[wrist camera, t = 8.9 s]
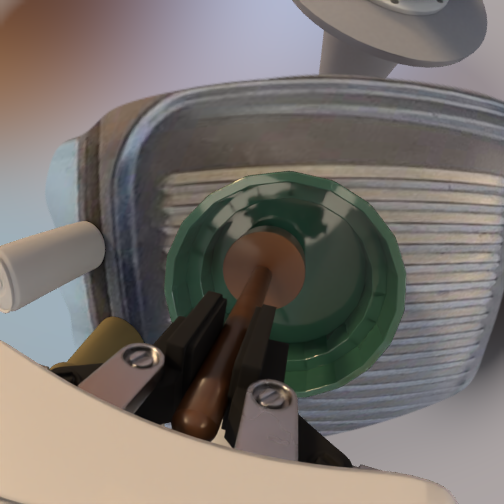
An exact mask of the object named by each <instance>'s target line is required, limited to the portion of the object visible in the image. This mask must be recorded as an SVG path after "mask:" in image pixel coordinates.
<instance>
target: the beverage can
mask: <svg viewBox="0 0 504 504" xmlns="http://www.w3.org/2000/svg"><path fill="white" fill-rule="evenodd" d="M104 255H105V243H104V239H103V236H102V234H101V233H100V231H99V230H98V229H97V227H96V226H94V225H93V224H92V223H90V222H87V221H81V222H77V223H74V224H70V225H66V226H63V227H59V228H56V229H52V230H49V231H46V232H42V233H39V234H36V235H32V236H29V237H26V238H23V239H20V240H16V241H13V242H10V243H7V244H4V245H1V246H0V311H1V312H3V313H9V312H10V311H16V310H18V309H20V308H21V307H24V306H25V305H27V304H29V303H31V302H33V301H34V300H36V299H38V298H40V297H42V296H44V295H45V294H47V293H49V292H51V291H53V290H55V289H57V288H59V287H61V286H62V285H64V284H66V283H68V282H70V281H72V280H74V279H76V278H78V277H80V276H82V275H83V274H85V273H87V272H89V271H91V270H93V269H95V268H97V267H98V266H100V264H101V263H102V261H103V258H104Z"/></svg>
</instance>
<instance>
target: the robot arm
mask: <svg viewBox="0 0 504 504" xmlns="http://www.w3.org/2000/svg"><path fill="white" fill-rule="evenodd" d="M369 1H370V2H372V3H374V4H377V5H379V6H381V7H383V8H386V9H389V10H392V11H395V12H399V13H403V14H407V15H416V16H424V15H431V14H435V13H437V12H439V11H440V10H442V9H443V8H444V7H445V5H446V4H447V3H448V1H449V0H369ZM226 305H227V299H225V298H223V294H220V293H216V292H212V291H208V292H207V293H206V294H205V295H204V297H203V298H202V299H201V300H200V301H199V303H198V304H197V305H196V306H195V307H194V309H193V310H192V311H191V312H190V313H189V315H188V316H187V317H183V316H179V317H177V319H176V320H175V321H174V322H173V323H172V324H171V325H170V326H169V328H168V329H167V330H166V331H165V332H164V333H163V334H162V335H161V337H160V338H159V339H158V340H157V341H156V342H155V343H154V344H153V345H150V344H147V343H132V344H129V345H126V346H124V347H123V348H121V349H120V350H119V351H118V352H117V353H115V354H114V355H113V356H112V357H111V358H110V359H108V360H107V361H106V362H105V363H97V364H87V365H76V366H64V367H57V368H54V369H52V370H50V369H49V367H47V366H43V365H40V364H38V363H36V362H35V361H33V360H32V359H30V358H29V357H27V356H25V355H24V354H22V353H21V352H19V351H18V350H16V349H14V348H13V347H11V346H10V345H8V344H7V343H5V342H3V341H1V340H0V504H458V503H457V501H456V499H455V497H454V496H453V495H452V494H451V492H450V491H449V490H447V489H446V488H445V487H444V486H441V485H440V484H438V483H435V482H433V481H430V480H427V479H423V478H420V477H416V476H413V475H407V474H401V473H397V472H389V471H382V470H378V469H374V468H371V467H368V466H365V465H360V466H359V467H355V466H352V464H351V462H350V460H349V459H348V458H347V457H346V456H345V455H344V454H343V453H342V452H341V451H339V450H338V449H337V448H336V447H335V446H333V445H332V444H331V443H330V442H329V441H328V440H327V439H325V438H324V437H323V436H322V435H321V434H320V433H319V432H317V431H316V430H315V429H314V428H313V427H312V426H311V425H310V424H308V423H307V422H306V421H305V420H304V419H303V418H302V417H301V416H300V415H299V414H298V399H297V395H296V393H295V392H294V390H293V389H292V388H291V387H290V386H288V385H287V384H285V383H284V380H285V373H286V365H287V357H288V349H289V344H288V343H284V342H279V341H275V340H271V339H269V337H270V333H271V329H272V325H273V320H274V316H275V312H276V308H277V307H274V306H270V305H265V304H263V305H262V307H258V306H256V309H255V311H254V314H253V316H252V319H251V321H250V324H249V326H248V329H247V332H246V334H245V337H244V339H243V342H242V344H241V347H240V349H239V352H238V354H237V357H236V360H235V363H234V367H233V371H232V376H231V381H230V386H229V391H228V396H227V397H228V406H227V409H226V411H225V414H224V417H223V421H222V426H221V429H223V430H225V435H224V438H225V439H226V441H227V442H228V443H229V444H230V446H231V447H232V448H230V447H227V446H223V445H219V444H216V443H212V442H209V441H206V440H202V439H199V438H196V437H193V436H190V435H187V434H184V433H181V432H178V431H175V430H172V429H170V428H167V427H164V424H165V423H169V422H172V417H173V415H174V413H175V411H176V409H177V407H178V406H179V404H180V402H181V400H182V399H183V397H184V395H185V393H186V392H187V390H188V388H189V386H190V385H191V383H192V381H193V379H194V377H195V376H196V374H197V372H198V370H199V369H200V367H201V365H202V363H203V361H204V360H205V358H206V356H207V354H208V352H209V351H210V349H211V347H212V345H213V343H214V342H215V340H216V338H217V336H218V334H219V333H220V331H221V329H222V327H223V323H224V317H225V311H226Z"/></svg>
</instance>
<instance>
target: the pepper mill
mask: <svg viewBox="0 0 504 504" xmlns="http://www.w3.org/2000/svg"><path fill="white" fill-rule="evenodd" d="M132 343H144V342H143V340H142V338H141V336H140V334H139V333H138V332H137V331H136V329H135V328H134V327H133V326H132V325H130V324H129V323H128V322H127V321H125V320H123V319H121V318H117V317H109V318H106V319H105V320H103V321H102V322H101V323H100V325H99V326H98V327H97V328H96V329H95V330H94V331H93V332H92V334H91V335H90V336H89V337H88V338H87V339H86V340H85V341H84V343H83V344H82V345H81V346H80V347H79V348H78V350H77V351H76V352H75V353H74V354H73V356H72V357H71V358H70V359H69V360H68V361H67V362H62V363H58V364H55V365H54V366H52V367H51V368H50V370H52V369H54V368H57V367H64V366H76V365H87V364H97V363H105V362H106V361H107V360H108V359H110V358H111V357H112V356H113V355H114V354H115V353H117V352H118V351H119V350H120V349H121V348H123V347H124V346H126V345H129V344H132Z"/></svg>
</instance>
